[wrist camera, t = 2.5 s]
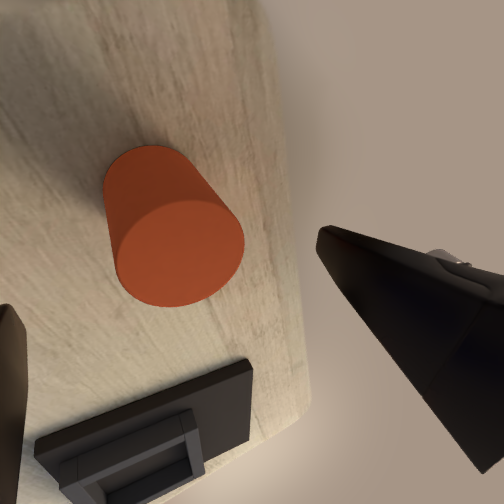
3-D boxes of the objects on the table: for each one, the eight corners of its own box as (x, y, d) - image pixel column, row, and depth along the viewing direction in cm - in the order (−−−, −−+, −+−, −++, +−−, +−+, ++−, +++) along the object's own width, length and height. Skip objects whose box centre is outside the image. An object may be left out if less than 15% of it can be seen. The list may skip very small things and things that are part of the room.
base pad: (247, 358, 23) (262, 386, 22) (245, 430, 30) (256, 456, 29) (34, 440, 18) (30, 486, 17) (91, 503, 25) (92, 540, 24)
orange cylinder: (196, 139, 13) (246, 188, 9) (203, 223, 15) (244, 289, 11) (89, 150, 11) (98, 214, 8) (115, 241, 14) (130, 322, 10)
